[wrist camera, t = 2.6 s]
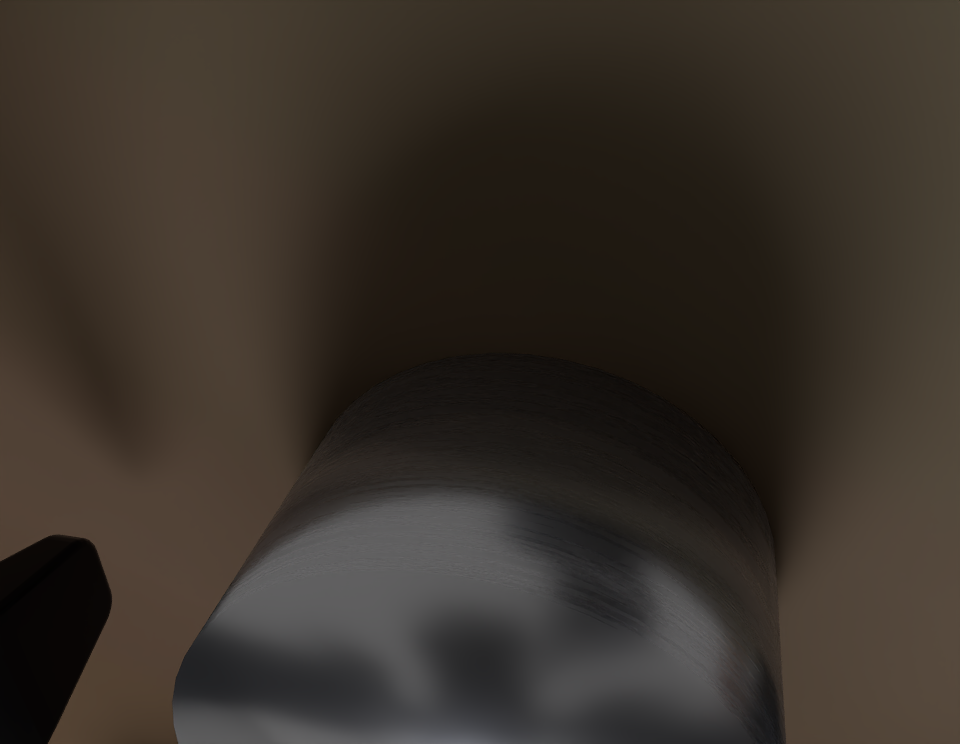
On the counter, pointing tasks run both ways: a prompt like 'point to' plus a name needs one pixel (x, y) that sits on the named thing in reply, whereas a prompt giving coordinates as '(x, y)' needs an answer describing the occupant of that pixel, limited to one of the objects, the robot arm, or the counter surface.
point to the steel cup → (500, 576)
